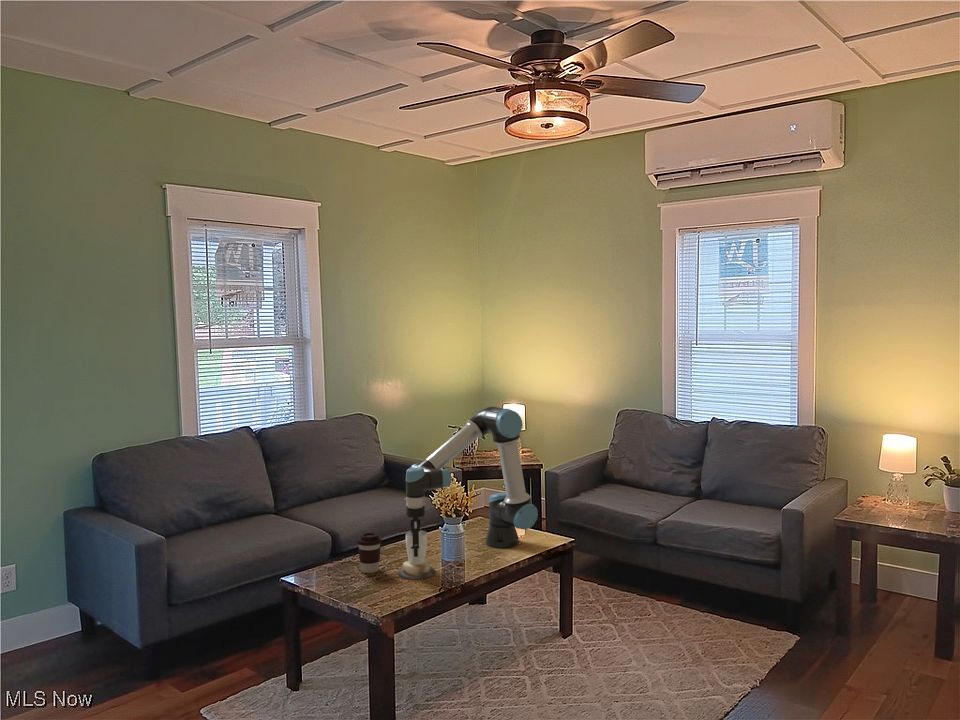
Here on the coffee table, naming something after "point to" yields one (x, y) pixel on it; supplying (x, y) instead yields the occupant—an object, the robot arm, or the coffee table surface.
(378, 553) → the coffee cup
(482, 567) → the coffee table surface
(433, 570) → the pedestal
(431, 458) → the robot arm
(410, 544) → the cup
